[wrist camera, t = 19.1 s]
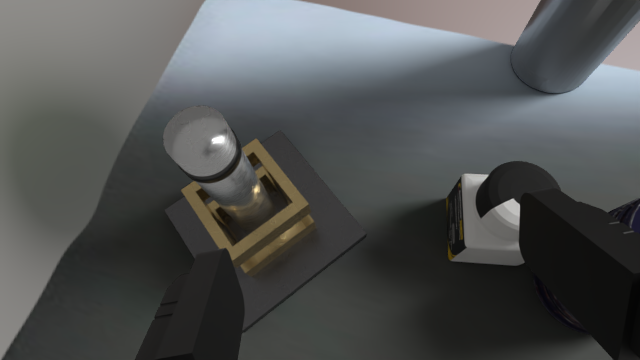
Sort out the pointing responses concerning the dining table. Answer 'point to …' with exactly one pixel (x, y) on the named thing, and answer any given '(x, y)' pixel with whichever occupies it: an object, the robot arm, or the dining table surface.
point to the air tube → (218, 165)
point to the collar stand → (272, 228)
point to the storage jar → (631, 214)
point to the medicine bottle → (491, 213)
